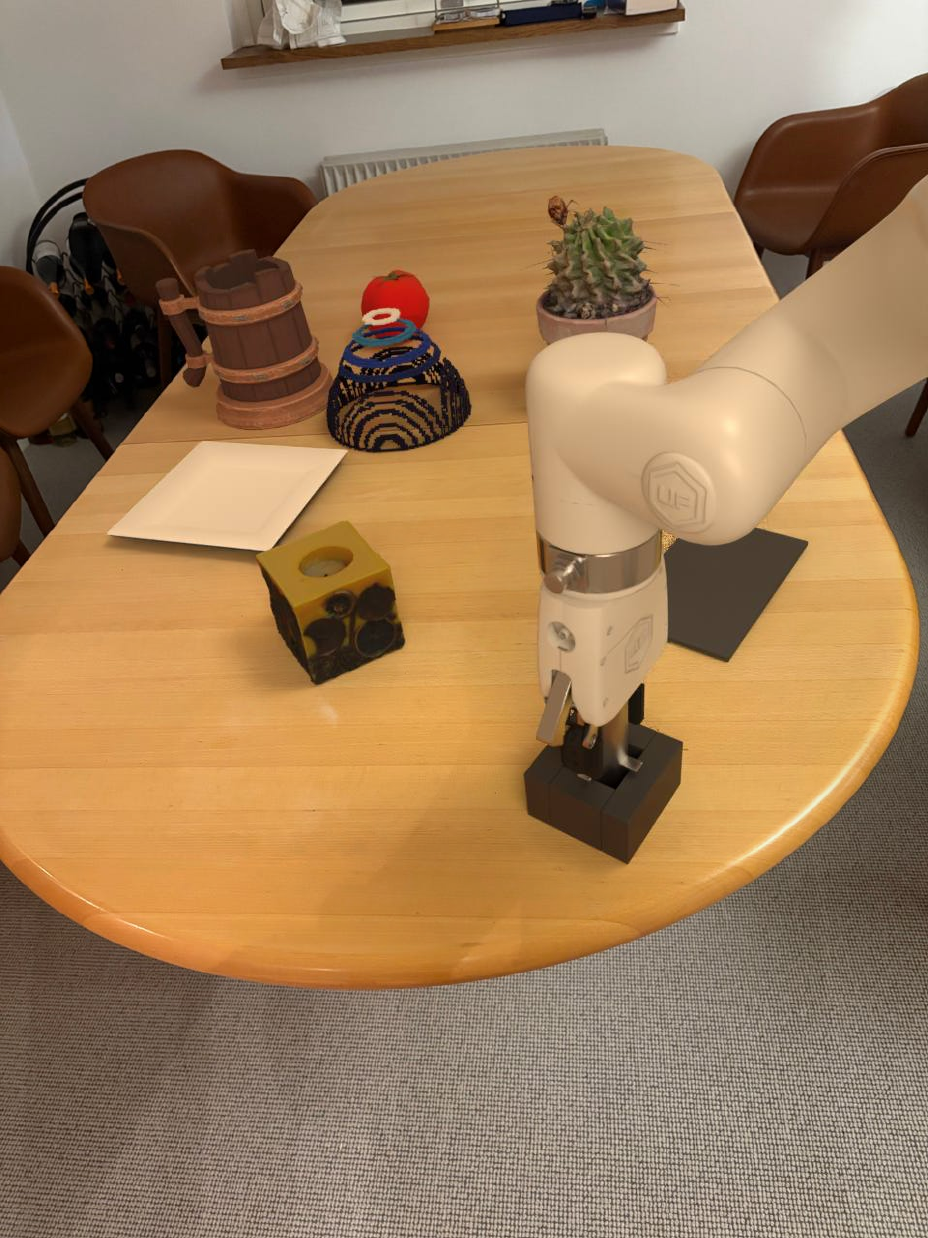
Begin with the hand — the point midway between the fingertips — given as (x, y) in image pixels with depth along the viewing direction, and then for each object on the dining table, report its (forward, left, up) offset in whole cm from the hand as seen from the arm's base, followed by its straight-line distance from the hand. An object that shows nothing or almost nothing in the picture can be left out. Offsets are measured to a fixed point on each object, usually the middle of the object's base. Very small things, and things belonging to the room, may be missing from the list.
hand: (603, 740), depth 65 cm
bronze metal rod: (0, 0, -7) cm, 7 cm away
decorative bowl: (+57, -44, -7) cm, 72 cm away
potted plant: (+34, -61, -7) cm, 70 cm away
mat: (+4, -29, -7) cm, 30 cm away
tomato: (+75, -66, -7) cm, 100 cm away
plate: (+62, -17, -7) cm, 65 cm away
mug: (+80, -39, -7) cm, 89 cm away
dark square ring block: (0, 0, -7) cm, 7 cm away
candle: (+32, -4, -7) cm, 33 cm away
